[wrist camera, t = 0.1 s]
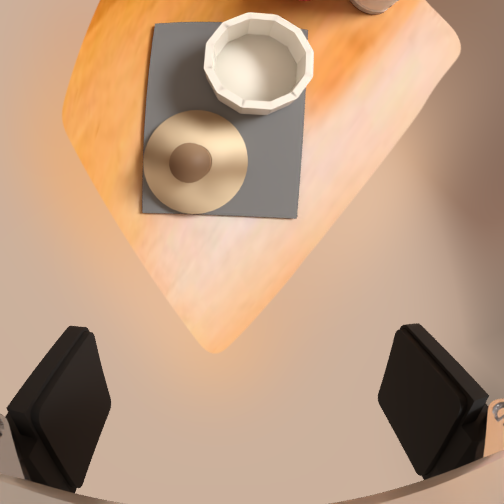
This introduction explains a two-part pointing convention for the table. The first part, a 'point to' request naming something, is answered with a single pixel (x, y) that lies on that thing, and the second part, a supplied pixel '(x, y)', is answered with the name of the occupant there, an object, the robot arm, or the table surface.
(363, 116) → the table surface
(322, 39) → the table surface
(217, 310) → the table surface
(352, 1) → the travel mug
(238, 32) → the bowl
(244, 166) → the lid
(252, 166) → the mat
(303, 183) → the table surface
